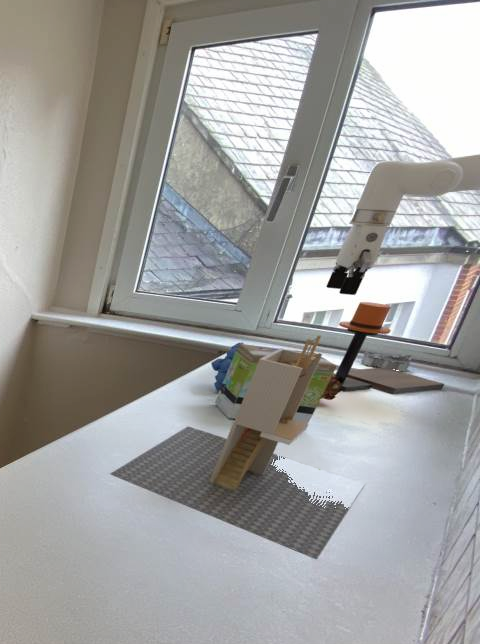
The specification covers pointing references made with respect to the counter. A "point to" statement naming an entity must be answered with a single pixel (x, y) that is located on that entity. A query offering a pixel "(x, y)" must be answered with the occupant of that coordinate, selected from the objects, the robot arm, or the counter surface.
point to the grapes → (223, 366)
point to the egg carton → (387, 361)
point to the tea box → (244, 371)
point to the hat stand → (348, 361)
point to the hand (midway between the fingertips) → (340, 291)
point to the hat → (369, 318)
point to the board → (393, 380)
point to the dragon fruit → (332, 389)
